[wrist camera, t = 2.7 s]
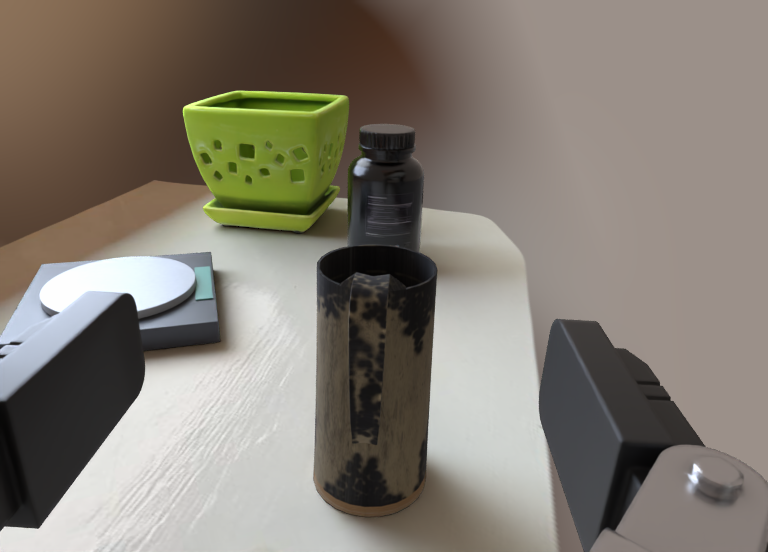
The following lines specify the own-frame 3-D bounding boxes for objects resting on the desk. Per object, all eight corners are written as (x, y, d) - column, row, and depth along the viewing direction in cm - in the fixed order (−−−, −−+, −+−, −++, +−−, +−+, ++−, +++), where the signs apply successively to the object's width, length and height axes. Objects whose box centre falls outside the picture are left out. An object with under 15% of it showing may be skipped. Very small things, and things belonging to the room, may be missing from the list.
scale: (212, 268, 50) (210, 245, 49) (220, 342, 39) (217, 313, 38) (45, 282, 46) (40, 257, 46) (0, 367, 35) (-8, 336, 34)
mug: (323, 430, 31) (321, 217, 26) (425, 436, 31) (442, 223, 26) (293, 554, 24) (284, 291, 19) (427, 564, 23) (452, 301, 19)
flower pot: (242, 195, 71) (235, 88, 66) (351, 204, 70) (353, 95, 64) (189, 231, 59) (176, 102, 54) (321, 243, 57) (320, 111, 52)
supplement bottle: (343, 244, 57) (344, 121, 52) (410, 243, 58) (418, 121, 53) (351, 272, 51) (353, 134, 46) (426, 270, 52) (436, 135, 47)
